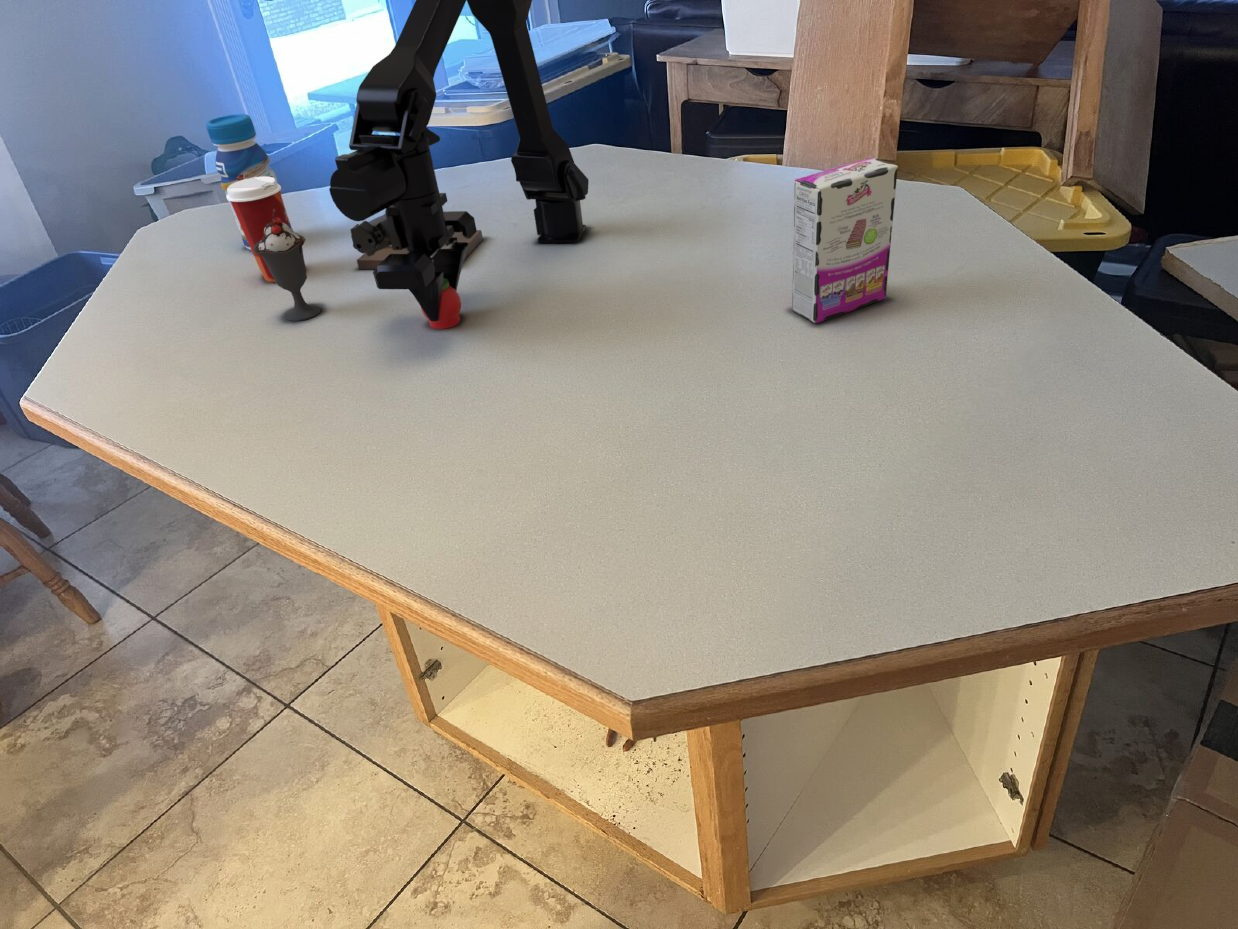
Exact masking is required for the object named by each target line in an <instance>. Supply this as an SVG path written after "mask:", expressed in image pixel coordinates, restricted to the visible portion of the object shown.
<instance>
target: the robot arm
mask: <svg viewBox="0 0 1238 929" xmlns="http://www.w3.org/2000/svg"><path fill="white" fill-rule="evenodd" d="M466 3H467V5H468V7H469V10H470V13H471V14H472V16H473V17H474V18H475V19H476V20H477V21H478V22H479V24H480V25H481V26H482V27H483V28H484V30H485V31H486V32H488V33H489V36H490V39H491V42H492V43H491V44H492V46H493V49H494V52H495V56H496V60H497V63H498V67H499V70H500V73H501V74H500V75H501V77H502V81H503V84H504V88H505V90H506V91H505V92H506V95H507V98H508V102H509V106H510V109H511V113H512V116H513V120H514V123H515V127H516V131H517V134H518V137H519V140H518V143H517V147H516V150H515V153H513V154H512V155H511V157H510V162H511V164H512V167H513V169H514V173H515V181H516V182H518V183H519V184H520V186H521V189H522V191H523V193H524V197H525V199H526V200H528V201H530V200H535V206H536V207H535V208H534V209H533V215H534V222H535V223H534V224H535V228H536V234H537V235H538V238H537V243H538V244H539V243H540V244H553V243H554V244H556V243H558V244H559V243H561V244H562V243H568V244H569V243H578V242H579V241H580V240H581V238H582V236H583V234H584V233H585V231H586V230H587V225H586V224H584V223H583V213H582V205H581V201H584V200H585V199H587V198H586V197H587V195H588V194H589V178H588V177H587V176H586V175H585V173H584V172H583V171H582V170H581V169H580V168H579V167H578V166H577V165H576V163H575V160H574V158H573V154H572V152H571V150H570V146H569V144H568V143H567V142H566V141H565V139H563V137H561V135H560V134H559V133H558V132H557V131H556V130H555V129H554V126H553V124H552V123H553V122H552V121H551V120H552V119H551V115H550V111H549V108H548V103H547V100H546V95H545V92H544V87H543V84H542V80H541V75H540V72H539V68H538V64H537V60H536V55H535V51H534V48H533V44H532V40H531V35H530V32H529V28H528V23H527V21H528V18H529V14H530V10H531V8H532V7H531V6H532V3H533V0H415V1H414V4H413V6H412V8H411V10H410V13H409V15H408V16H407V19H406V21H405V23H404V26H403V28H402V29H401V32H400V34H399V37H398V39H397V41H396V43H395V45H394V47H393V49H392V50H391V51H390V52H389V54H388V55H386V56H385V57H384V58H382V59H381V60H379V61H378V62H377V63H375V64H374V65H372V67H371V69H370V70H369V72H368V73H367V74H366V76H365V78H364V79H363V80H362V81H361V83H360V84H359V86H358V89H357V93H356V106H355V110H354V111H355V112H354V116H353V121H352V127H351V134H350V138H349V144H348V147H349V149H350V150H351V151H352V152H350V153H344V154H341V155H338V156H336V157H335V158H334V162H335V165H336V170H334V171H333V172H332V174H331V176H330V181H329V182H330V183H329V186H330V187H329V190H328V191H329V194H330V197H331V199H332V201H333V203H334V205H335V207H336V208H337V209H338V211H339V212H340V213H341V214H342V215H343V216H344V217H345V218H347V219H349V220H352V221H354V222H361V223H359V224H358V223H357V224H355V225H354V226H353V227H352V228H350V235H351V236H350V237H351V240H352V241H351V242H352V247H353V249H355V250H357V252H359V253H361V254H364V253H366V254H367V256H368V257H369V256H372V255H374V254H375V252H377V251H379V250H381V249H384V248H386V247H388V246H390V245H392V249H393V250H402V249H407V251H409V252H408V253H407V254H390V255H388V256H387V257H386V258H385V259H384V260H383V261H382V262H381V263H380V264H379V265H378V266H377V267H376V269H373V272H372V275H373V278H374V282H375V285H376V288H377V289H378V290H408V291H409V292H410V293H411V294H412V296H413V297H414V299H415V300H416V301H417V303H418V304H419V306H421V307H422V309H423V310H424V312H425V313H426V315H427V316H428V318H429V320H430V321H438V320H439V316H440V307H441V295H442V284H443V278H445V279H447V280H448V282H449V286H451V287H452V288H454V289H455V290H456V291H457V292H458V286H459V282H460V277H461V274H462V269H463V265H464V262H465V260H464V258H465V254H466V250H467V248H468V243H467V242H458V240H457V237H455V238H454V232H462V234H463V236H464V237H465V238H466V239H470V238H471V237H472V236H473V235H474V234H475V233H476V232H477V230H478V229H477V225H476V219H475V217H474V216H473V215H471V213H469V212H468V211H466V210H464V211H463V210H461V211H460V210H459V211H457V210H455V211H452V210H451V211H444V208H443V206H444V205H445V204H446V203H447V202H448V197H447V193H446V192H440V189H439V185H438V181H437V176H436V172H435V166H434V162H433V157H432V153H431V149H430V147H431V146H433V145H435V144H437V143H439V142H440V141H441V137H440V135H439V134H438V133H435V132H434V131H432V130H430V129H429V128H428V125H429V123H430V121H431V117H432V113H433V109H434V106H435V103H436V99H437V90H436V85H435V80H434V78H435V74H436V72H437V68H438V66H439V63H440V61H441V59H442V56H443V54H444V53H445V50H446V48H447V46H448V43H449V41H450V39H451V36H452V35H453V32H454V29H455V27H456V25H457V23H458V20H459V18H460V16H461V15H462V11H463V9H464V7H465V5H466ZM374 132H376V133H374ZM377 133H387V134H377ZM389 133H390V134H389ZM397 134H399V135H397ZM382 211H384V214H382V215H380V216H378V217H375V218H373V219H371V220H369V221H367V219H369V218H371V217H373V216H374V215H377V214H378V213H380V212H382ZM421 307H420V308H421ZM429 320H428V321H429Z"/></svg>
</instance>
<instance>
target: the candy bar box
mask: <svg viewBox="0 0 1238 929" xmlns="http://www.w3.org/2000/svg"><path fill="white" fill-rule="evenodd" d="M898 168H899V166H898V165H896V164H893V163H891V162H890V163H889V162H887V161H884V160H882V159H881V160H880V159H878V158H873V157H868V158H865V159H861V160H858V161H854V162H851V163H847V164H843V165H841V166H837V167H833V168H829V169H827V170H823V171H820V172H816V173H813V174H809V175H805V176H803V177H799V178H796V179H794V200H793V201H794V203H793V204H794V207H793V253H792V302H791V303H792V307H791V308H792V311H793V312H794V313H795V314H797V315H799V316H801V317H803V318H805V319H807V320H808V321H810V322H812V323H813V324H819V323H821V322H824V321H828V320H830V319H833V318H836V317H839V316H841V315H844V314H847V313H850V312H852V311H855V310H859V309H860V308H864V307H866V306H869V305H872V304H875V303H877V302H880V301H882V300H885V299H886V298H887V288H888V278H889V277H888V276H889V266H890V256H891V244H892V232H893V225H894V224H893V223H894V210H895V200H896V190H897V180H898V178H897V177H898Z"/></svg>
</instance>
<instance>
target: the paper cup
mask: <svg viewBox="0 0 1238 929" xmlns="http://www.w3.org/2000/svg"><path fill="white" fill-rule="evenodd" d="M281 190H282V186H281V185H280V184H279V183H278V180H277V181H276V180H275V179H274V178H273V177H267V176H264V177H254V178H249V179H244V180H241V181H238V182H235V183H233V184H231V185H230V186H229V187H228V188H227V193H228V195H227V196H226V200H227V201H228V200H229V201H230V202H231V204H232V206H233V209H234V211H235V213H236V216H237V218H238V220H239V223H240V225H241V227H242V229H243V232H244V234H245V236H246V239H247V241H248V243H249V246H250V248H251V250H250V251H251V253H252V254H253V257H254V259H255V261H256V264H257V266H258V268H259V271H260V273H261V275H262V277H263V279H264V280H265V281H266V282H269V283H276V281H275V280H274V278H273V276H272V274H271V272H270V270H269V268H268V266H267V264H266V262H265V261H264V259H263V257H262V256H261V255H259V254H255V253H254V250H253V249H254V246H255V244H257V243H258V242H260V241H261V240H262V239H263V237H264V229H265V227H266V225H267V223H271V222H272V213H273V209H275V210H276V213H275V214H274V213H273V214H274V217H275V218H280V219H281V222H283V223H285V224H286V225H288V227H289V228H290V225H289V222H288V218H289V217H288V218H287V215H288V213H287V214H286V212H287V210H286V211H285V209H286V206H285V203H283V202H284V200H282V199H283V196H282V193H281ZM284 206H285V207H284ZM274 217H273V219H274Z"/></svg>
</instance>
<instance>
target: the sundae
mask: <svg viewBox="0 0 1238 929" xmlns="http://www.w3.org/2000/svg"><path fill="white" fill-rule="evenodd" d="M273 213H274V214H275V213H276V210H275V209H273ZM273 213H272V222H271V223H267V225H266V227H265V229H264V237H263V239H262V240H261V241H260V242H258V243H257V244H255V246H254V249H253V250H254V253H255V254H259V255H261V256H262V257H263V259H264V261H265V262H266V264H267V266H268V268H269V270H270V272H271V274H272V276H273V278H274V280H275V281H276V282H275V283H276V285H277V286H278V287H280V288H281V289H283V290H286V291H288V292H289V293H290V294H291V296H292V297H293V298H292V299H293V301H294V306H293V307H292V308H291V309H289V310H288V311H287V312H285V313H284V318H285V319H286V320H287V321H290V322H300V321H305V320H309V319H312V318H314V317H315V316H317V315H319V314H320V313H321V311H322V307H321V306H320V305H318V304H314V303H313V304H311V303H310V304H309V303H307V302H306V301H305V298H304V297H303V295H302V291H301V289H302V288H303V286H304V285H305V284H306V281H307V278H308V276H307V275H308V274H307V266H306V262H305V258H304V257H305V256H304V250H303V246H304V245H305V242H306V240H307V239H306V237H304V236H303V235H301V234H299V233H297V232H295V231H294V230H293V231H291V229H290V228H289V227H288V225H286V224H285V223H283V222H281V219H280V218H275V217H274V214H273ZM273 217H274V219H273Z"/></svg>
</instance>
